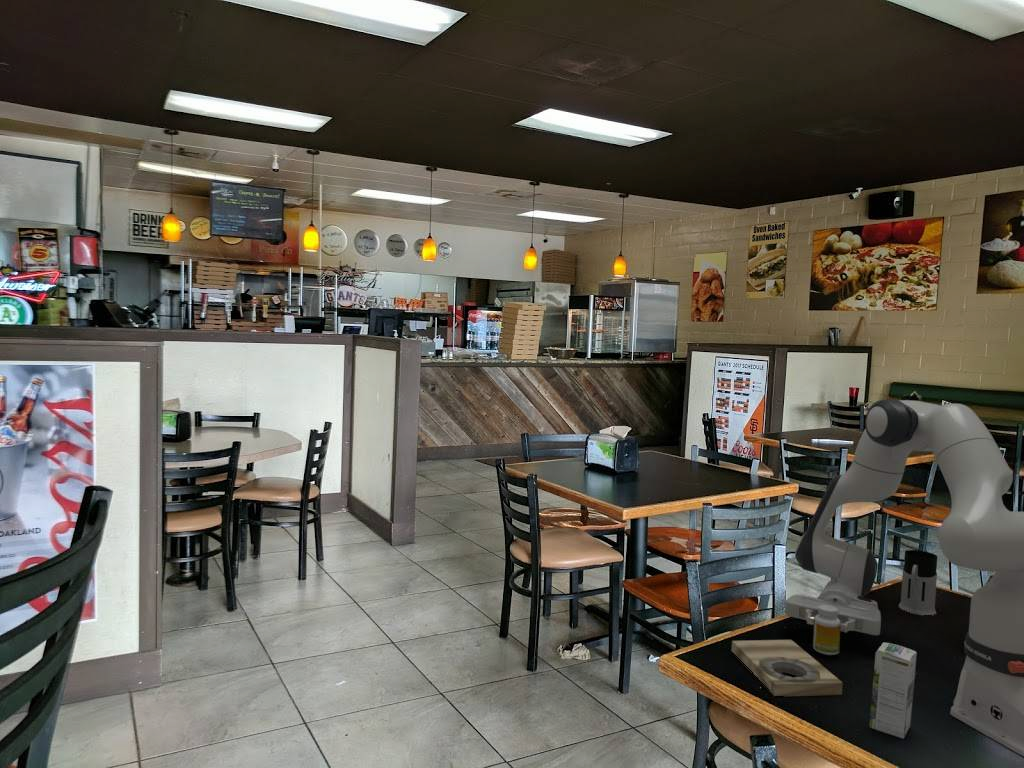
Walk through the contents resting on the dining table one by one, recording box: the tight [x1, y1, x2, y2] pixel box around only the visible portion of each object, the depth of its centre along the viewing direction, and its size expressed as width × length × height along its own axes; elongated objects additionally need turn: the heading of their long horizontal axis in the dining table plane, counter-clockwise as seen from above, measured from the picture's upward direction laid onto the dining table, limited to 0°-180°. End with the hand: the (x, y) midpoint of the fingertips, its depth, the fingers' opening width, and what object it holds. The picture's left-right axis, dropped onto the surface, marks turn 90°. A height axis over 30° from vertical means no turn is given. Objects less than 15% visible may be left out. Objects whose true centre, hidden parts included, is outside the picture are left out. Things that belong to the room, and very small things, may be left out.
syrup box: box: [869, 642, 918, 740], centre depth 128 cm, size 6×6×14 cm
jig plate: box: [731, 639, 843, 697], centre depth 149 cm, size 20×14×2 cm
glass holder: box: [898, 549, 938, 616], centre depth 185 cm, size 9×14×15 cm, turn 141°
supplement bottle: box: [812, 605, 841, 656], centre depth 158 cm, size 5×5×10 cm
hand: (826, 624), depth 157 cm, fingers closed on supplement bottle, 5 cm apart
